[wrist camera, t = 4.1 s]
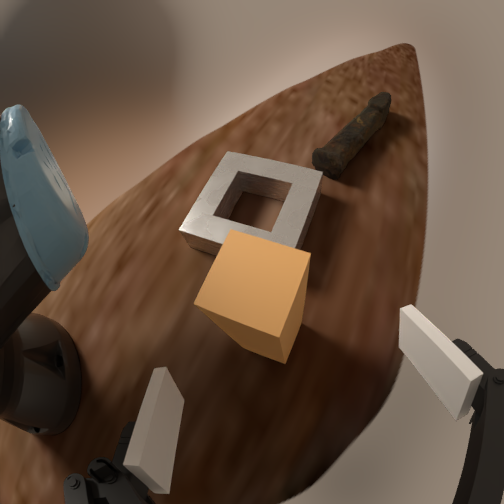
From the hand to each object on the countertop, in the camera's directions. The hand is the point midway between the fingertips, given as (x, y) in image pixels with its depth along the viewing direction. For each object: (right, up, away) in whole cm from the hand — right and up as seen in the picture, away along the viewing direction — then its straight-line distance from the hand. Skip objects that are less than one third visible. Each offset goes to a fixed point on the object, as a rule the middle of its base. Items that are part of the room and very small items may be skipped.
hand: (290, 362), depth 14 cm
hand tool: (+12, +21, +21) cm, 32 cm away
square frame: (-1, +9, +16) cm, 19 cm away
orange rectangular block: (0, -2, +11) cm, 11 cm away
